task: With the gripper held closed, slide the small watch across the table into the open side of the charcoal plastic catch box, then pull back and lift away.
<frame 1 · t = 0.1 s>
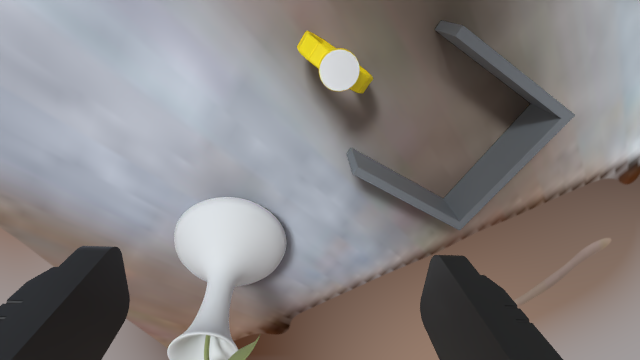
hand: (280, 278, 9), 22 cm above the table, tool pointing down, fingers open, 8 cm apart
flower in vase: (240, 227, 36), on the table
catch box: (439, 125, 31), on the table
watch: (331, 55, 27), on the table
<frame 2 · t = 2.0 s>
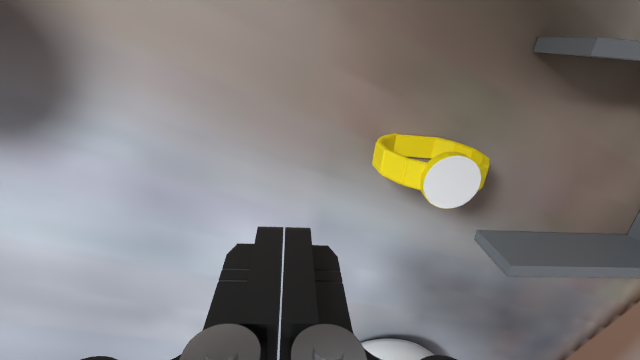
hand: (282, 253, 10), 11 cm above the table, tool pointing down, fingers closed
catch box: (586, 155, 22), on the table
watch: (411, 144, 21), on the table
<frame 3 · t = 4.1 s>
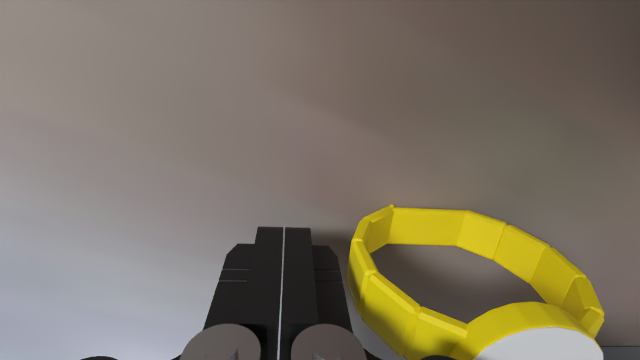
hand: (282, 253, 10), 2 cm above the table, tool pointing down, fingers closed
watch: (421, 221, 12), on the table, touching gripper
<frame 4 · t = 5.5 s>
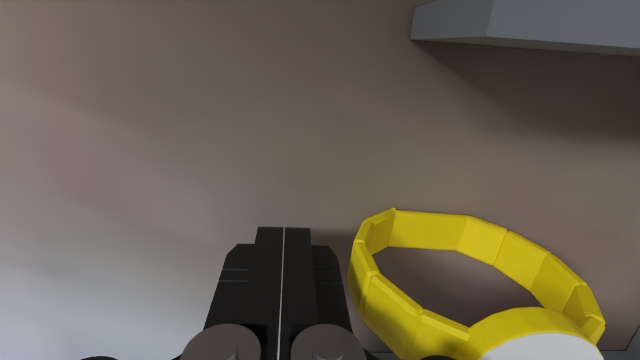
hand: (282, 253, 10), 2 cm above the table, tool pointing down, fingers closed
catch box: (542, 231, 12), on the table
watch: (422, 225, 12), on the table, touching gripper
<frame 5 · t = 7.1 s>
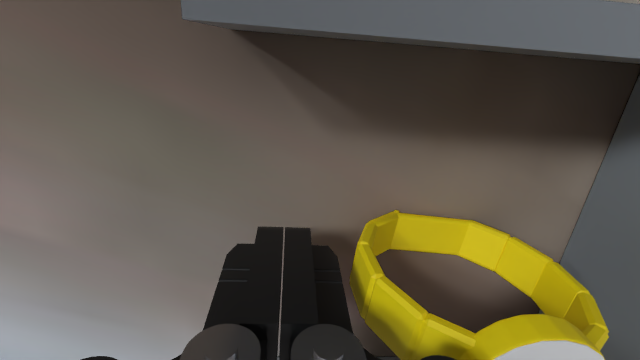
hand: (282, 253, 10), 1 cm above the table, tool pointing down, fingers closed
catch box: (410, 232, 11), on the table
watch: (424, 228, 12), on the table, touching gripper
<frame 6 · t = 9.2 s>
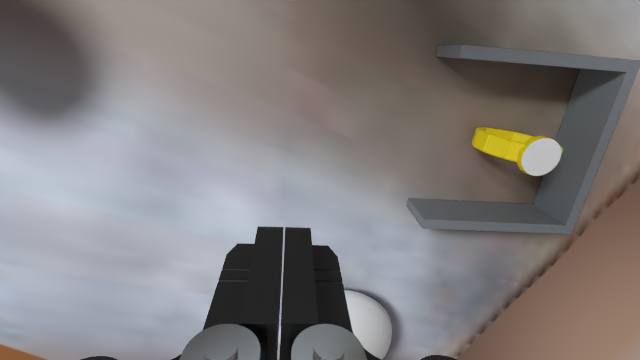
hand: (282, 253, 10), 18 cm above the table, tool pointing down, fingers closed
flower in vase: (337, 316, 35), on the table
catch box: (489, 137, 28), on the table
watch: (494, 136, 28), on the table
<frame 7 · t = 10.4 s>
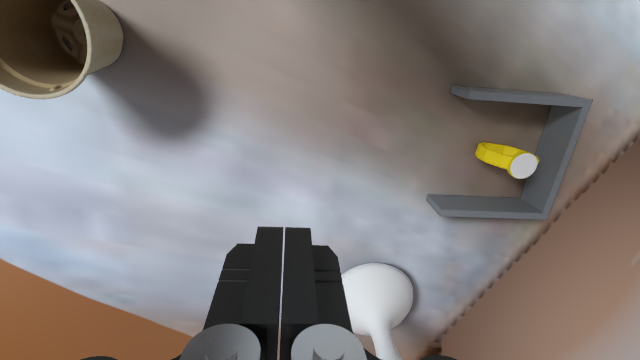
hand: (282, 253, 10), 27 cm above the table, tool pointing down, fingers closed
flower in vase: (371, 284, 45), on the table
catch box: (487, 149, 38), on the table
watch: (491, 148, 39), on the table
flower pot: (90, 33, 31), on the table
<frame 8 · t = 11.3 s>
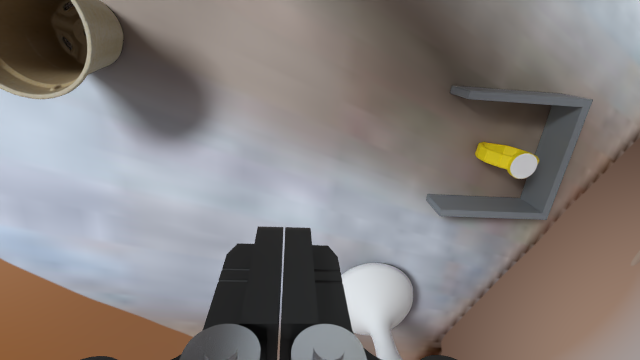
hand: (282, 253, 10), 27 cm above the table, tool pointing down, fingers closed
flower in vase: (371, 284, 45), on the table
catch box: (487, 149, 38), on the table
watch: (491, 148, 39), on the table
flower pot: (90, 33, 31), on the table
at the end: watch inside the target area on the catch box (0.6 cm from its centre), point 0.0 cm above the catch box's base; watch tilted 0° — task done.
